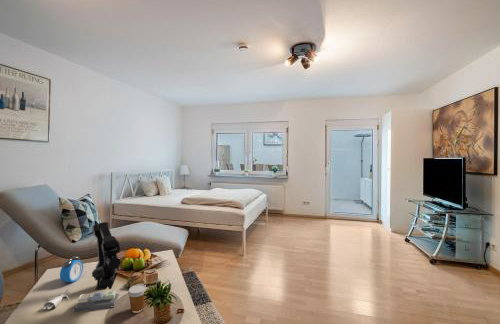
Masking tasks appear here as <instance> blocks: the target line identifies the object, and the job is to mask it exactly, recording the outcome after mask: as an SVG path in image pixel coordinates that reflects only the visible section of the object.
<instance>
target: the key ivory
mask: <svg viewBox="0 0 500 324" xmlns="http://www.w3.org/2000/svg"><path fill="white" fill-rule="evenodd" d="M90 297H91V293H90V292H89V293H81V294H80V295H79V297H78V298H77V303H82V302H88V300H89V298H90Z"/></svg>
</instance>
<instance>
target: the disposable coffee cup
mask: <svg viewBox="0 0 500 324" xmlns="http://www.w3.org/2000/svg"><path fill="white" fill-rule="evenodd" d="M146 289H147V290H148V287H146V285H144V284H137V285H134V286H132V287H131V288H129V289H128V291H127V294H128V296H129V297H128V298H129V305H130V311H131V310H132V311H139V310H141V309H143V308H144V309H145V304H146V300H145V301H144V298H145V296H144V291H145V290H146ZM145 299H146V298H145Z"/></svg>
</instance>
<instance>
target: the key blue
mask: <svg viewBox="0 0 500 324" xmlns="http://www.w3.org/2000/svg"><path fill="white" fill-rule="evenodd" d="M103 295H104V291H100V292H98V291H97V292H94V293H93V294H92V295H91V297H92V301H98V300H101V299H102V297H103Z"/></svg>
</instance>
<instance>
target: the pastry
mask: <svg viewBox="0 0 500 324" xmlns="http://www.w3.org/2000/svg"><path fill="white" fill-rule="evenodd" d="M143 279H144V272H134V273H133V274H131V275H130V277H129V278H128V279H127V280H126V285H125V287H126V289H128V288H129V287H130V288H131V287H132V286H134V285H137V284H143ZM130 288H129V289H130Z"/></svg>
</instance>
